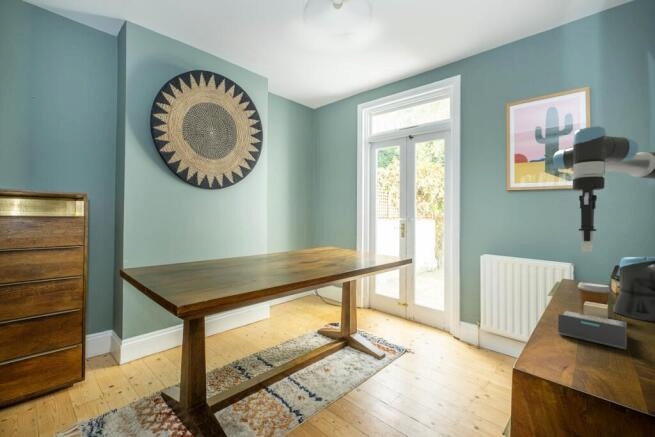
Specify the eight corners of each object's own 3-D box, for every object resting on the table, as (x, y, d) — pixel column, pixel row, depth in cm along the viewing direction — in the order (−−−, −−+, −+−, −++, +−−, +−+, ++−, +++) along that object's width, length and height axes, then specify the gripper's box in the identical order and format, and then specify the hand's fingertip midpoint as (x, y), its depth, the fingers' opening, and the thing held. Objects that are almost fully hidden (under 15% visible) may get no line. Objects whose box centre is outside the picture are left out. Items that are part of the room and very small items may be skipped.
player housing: (565, 323, 103) (565, 310, 103) (626, 335, 92) (626, 321, 92) (558, 333, 92) (558, 320, 92) (626, 349, 82) (626, 333, 82)
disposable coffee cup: (576, 310, 119) (577, 280, 119) (609, 315, 113) (609, 284, 113) (577, 315, 112) (578, 284, 112) (612, 321, 106) (612, 288, 106)
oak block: (585, 320, 106) (585, 301, 106) (607, 325, 102) (608, 305, 102) (583, 324, 102) (583, 304, 102) (607, 329, 97) (607, 308, 98)
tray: (564, 321, 101) (565, 305, 101) (625, 334, 90) (626, 316, 91) (558, 332, 91) (558, 314, 91) (625, 347, 80) (626, 327, 80)
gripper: (575, 180, 99) (574, 249, 99) (570, 175, 90) (568, 251, 90) (605, 178, 94) (604, 251, 94) (603, 173, 85) (602, 254, 85)
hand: (587, 251), depth 92 cm, fingers closed
